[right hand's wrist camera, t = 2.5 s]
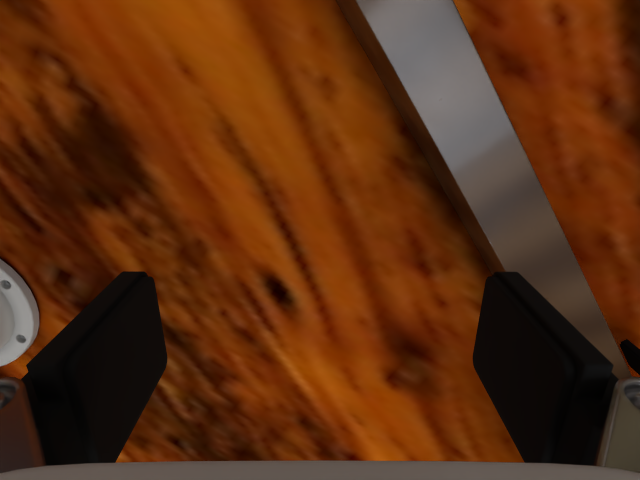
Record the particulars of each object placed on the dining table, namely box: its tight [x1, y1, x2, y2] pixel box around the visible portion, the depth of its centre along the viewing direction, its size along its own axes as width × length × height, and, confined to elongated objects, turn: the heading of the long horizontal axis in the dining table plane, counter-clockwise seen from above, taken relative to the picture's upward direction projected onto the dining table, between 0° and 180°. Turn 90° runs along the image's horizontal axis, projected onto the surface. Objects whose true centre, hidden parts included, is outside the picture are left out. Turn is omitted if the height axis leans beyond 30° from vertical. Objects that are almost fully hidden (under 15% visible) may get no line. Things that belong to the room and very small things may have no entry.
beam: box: [336, 0, 632, 380], centre depth 28 cm, size 67×4×7 cm, turn 34°
